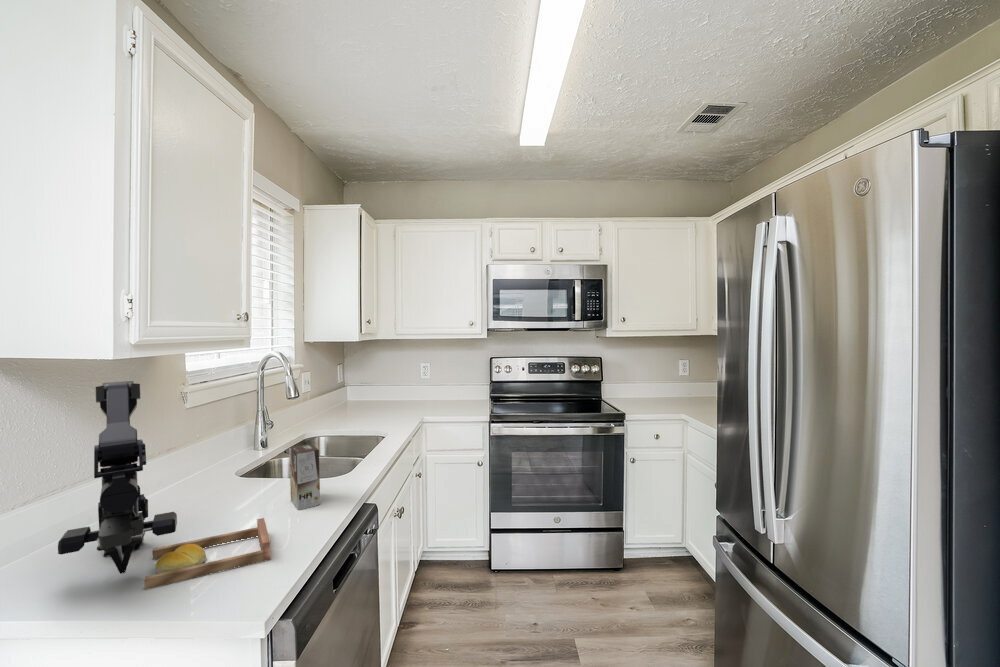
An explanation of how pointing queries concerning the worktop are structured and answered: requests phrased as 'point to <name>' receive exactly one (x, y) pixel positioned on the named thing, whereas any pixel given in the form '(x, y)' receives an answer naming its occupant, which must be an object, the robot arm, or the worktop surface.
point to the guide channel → (215, 565)
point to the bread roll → (181, 558)
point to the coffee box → (304, 476)
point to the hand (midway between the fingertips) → (122, 572)
